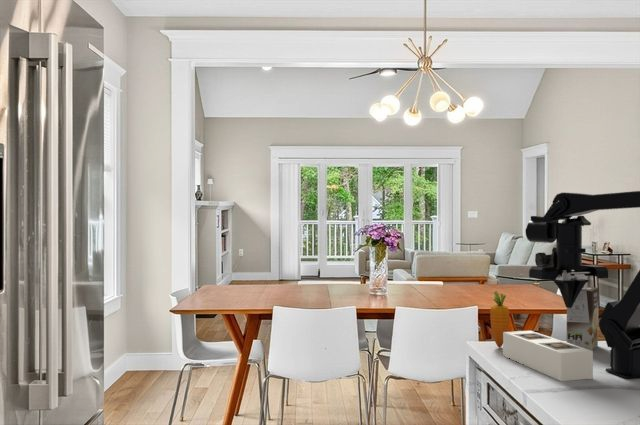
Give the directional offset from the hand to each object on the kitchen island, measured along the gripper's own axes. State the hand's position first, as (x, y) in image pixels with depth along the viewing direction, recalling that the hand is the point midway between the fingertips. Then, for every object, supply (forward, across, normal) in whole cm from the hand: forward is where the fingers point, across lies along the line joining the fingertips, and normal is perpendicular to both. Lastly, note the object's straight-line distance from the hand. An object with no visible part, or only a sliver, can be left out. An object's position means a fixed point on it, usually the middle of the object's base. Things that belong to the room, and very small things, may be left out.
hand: (568, 307), depth 136 cm
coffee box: (+13, -13, -11) cm, 22 cm away
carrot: (+13, +9, -16) cm, 23 cm away
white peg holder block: (+13, +9, +3) cm, 16 cm away
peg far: (+13, +9, -2) cm, 16 cm away
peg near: (+13, +9, +8) cm, 18 cm away
